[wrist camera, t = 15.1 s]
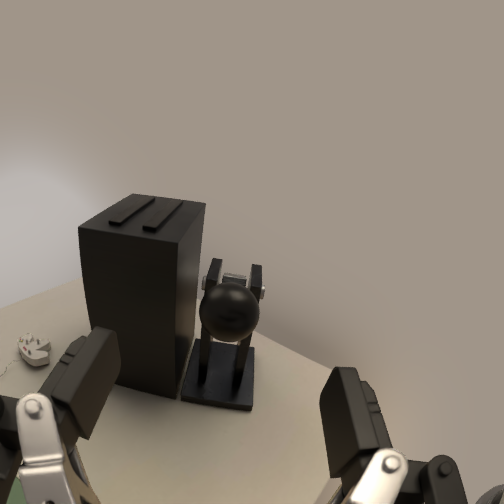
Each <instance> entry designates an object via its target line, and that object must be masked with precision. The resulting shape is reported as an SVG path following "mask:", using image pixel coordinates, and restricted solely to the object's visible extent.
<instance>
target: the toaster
mask: <svg viewBox="0 0 504 504" xmlns="http://www.w3.org/2000/svg"><path fill="white" fill-rule="evenodd" d="M205 206H206V204H205V203H201V202H194V201H187V200H180V199H172V198H164V197H156V196H148V195H140V194H131V195H129V196H128V197H126V198H124V199H122V200H121V201H119V202H117V203H116V204H114V205H112V206H111V207H109V208H107V209H106V210H104V211H102V212H101V213H99V214H97V215H96V216H94V217H93V218H91V219H90V220H88V221H86V222H85V223H83V224H82V225H80V226H79V227H78V236H79V248H80V259H81V268H82V277H83V284H84V291H85V298H86V304H87V309H88V315H89V320H90V325H91V330H93V329H94V327H96V326H99V327H102V328H106V329H109V330H113V331H115V332H116V334H117V340H118V346H119V352H120V357H121V368H120V372H119V375H118V377H117V379H116V381H115V383H114V384H116V385H120V386H123V387H127V388H130V389H134V390H138V391H141V392H145V393H149V394H153V395H158V396H162V397H166V398H171V399H176V398H177V394H178V391H179V387H180V383H181V379H182V376H183V372H184V369H185V365H186V361H187V358H188V354H189V351H190V347H191V344H192V340H193V337H194V328H195V313H196V299H197V286H198V274H199V263H200V253H201V243H202V233H203V224H204V214H205Z"/></svg>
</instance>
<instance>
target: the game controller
mask: <svg viewBox="0 0 504 504" xmlns="http://www.w3.org/2000/svg"><path fill="white" fill-rule="evenodd" d="M18 347H19V351H20V354H21V355H22V358H24V359H25V360H26V361H27V362H28V363H29V364H31V365H32V366H41V365H45V364H48V363H49V362H50V360H49V354H48V352H47V351H49V350H50V349H51V345H50V340H49V339H42V340H39V339H37V341H34V339H33V335H32V334H30V333H28V334H26V335H24V336H22V337H20V338H19V339H18ZM22 358H21V359H22ZM21 359H20V360H21ZM18 361H19V360H18ZM13 362H14V361H13ZM11 363H12V362H11ZM11 363H10V364H11ZM10 364H9V365H10ZM7 367H8V366H7ZM7 367H6V368H7ZM5 372H6V371H5ZM5 372H4V373H5ZM4 373H3V374H4ZM3 374H2V375H3ZM2 375H1V376H2ZM1 376H0V377H1Z"/></svg>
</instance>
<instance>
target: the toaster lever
mask: <svg viewBox="0 0 504 504" xmlns="http://www.w3.org/2000/svg"><path fill="white" fill-rule="evenodd" d="M246 280H247V279H246V276H242V275H236V274H230V273H224V275H223V279H222V283H221V284H218V285H216V286H214V287H212V288H211V289H210V290H208V292H207V293H206V294H205V295H204V297H203V299H202V301H201V304H200V308H199V316H200V321H201V323H202V325H203V327H204V329H205V330H206V332H207V333H208V334H209V335H211V336H212V337H213V338H215V339H217V340H220V341H224V342H236V341H239V340H242V339H244V338H246V337H247V336H248V335H250V334H251V333H252V332H253V330H254V329H255V327H256V325H257V323H258V320H259V314H260V313H259V305H258V302H257V299H256V298H255V296H254V294H253V293H252V292H251V291H250V290H249V289H248V288H246V287H245V286H246Z"/></svg>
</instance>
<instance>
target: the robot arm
mask: <svg viewBox="0 0 504 504" xmlns="http://www.w3.org/2000/svg"><path fill="white" fill-rule="evenodd" d="M120 368H121V357H120V352H119V346H118V340H117V334H116V332H115V331H113V330H109V329H106V328H102V327H99V326H96V327H94V329H93V330H92V331H91V333H90V334H89V336H88V337H85V336H81V337H80V338H78V339H77V340H75V341H74V342H72V343H71V344H70V346H69V347H68V349H67V350H66V351H65V354H63V356H62V357H61V358H60V361H59V362H58V363H57V364H56V366H55V367H54V369H53V370H52V372H51V373H50V375H49V376H48V378H47V379H46V381H45V382H44V384H43V385H42V387H41V388H40V390H39V391H38V392H37V393H36V392H33V393H28V394H25V395H24V396H22V397H21V398H20V399H17V398H12V397H7V396H2V395H0V504H6V503H7V500H8V497H9V494H10V491H11V488H12V485H13V482H14V480H15V477H16V474H17V472H18V469H19V477H20V481H21V485H22V489H23V493H24V496H25V500H26V503H27V504H101V503H100V501H99V499H98V497H97V496H96V494H95V493H94V491H93V489H92V487H91V485H90V482H89V480H88V477H87V475H86V472H85V469H84V467H83V464H82V461H81V458H80V455H79V452H78V449H77V446H76V442H77V439H78V437H82V438H84V439H87V440H89V438H90V436H91V433H92V431H93V429H94V426H95V424H96V422H97V420H98V417H99V415H100V413H101V411H102V409H103V406H104V404H105V402H106V400H107V398H108V396H109V393H110V391H111V389H112V387H113V385H114V383H115V381H116V379H117V377H118V375H119V372H120ZM319 405H320V412H321V418H322V425H323V431H324V437H325V444H326V450H327V457H328V464H329V471H330V478H339V477H341V481H342V484H341V485H340V486H339V487H338V489H337V490H336V492H335V493H334V495H333V496H332V498H331V499H330V500H329V502H328V503H327V504H424V502H425V504H468V502H467V499H466V495H465V491H464V487H463V484H462V480H461V477H460V474H459V470H458V467H457V465H456V463H455V461H454V460H453V459H452V458H450V457H449V456H446V455H438V456H436V457H434V458H433V459H432V460H430V461H429V462H421V461H413V460H407V458H406V457H405V455H404V454H403V453H402V452H400V451H399V450H397V449H394V448H393V447H392V444H391V441H390V438H389V434H388V431H387V428H386V425H385V422H384V419H383V416H382V413H381V410H380V407H379V404H378V401H377V398H376V395H375V392H374V390H373V389H372V388H371V387H370V385H369V384H368V383H367V382H366V381H360V378H359V375H358V372H357V370H356V368H353V367H335V368H334V369H333V370H332V372H331V374H330V376H329V378H328V380H327V382H326V384H325V386H324V388H323V390H322V392H321V395H320V402H319ZM22 459H23V464H22V465H20V464H21V461H22ZM487 504H504V489H503V490H501V491H499V492H498V493H496V494H495V495H494V496H492V497H491V499H490V500H489V501H488V503H487Z"/></svg>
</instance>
